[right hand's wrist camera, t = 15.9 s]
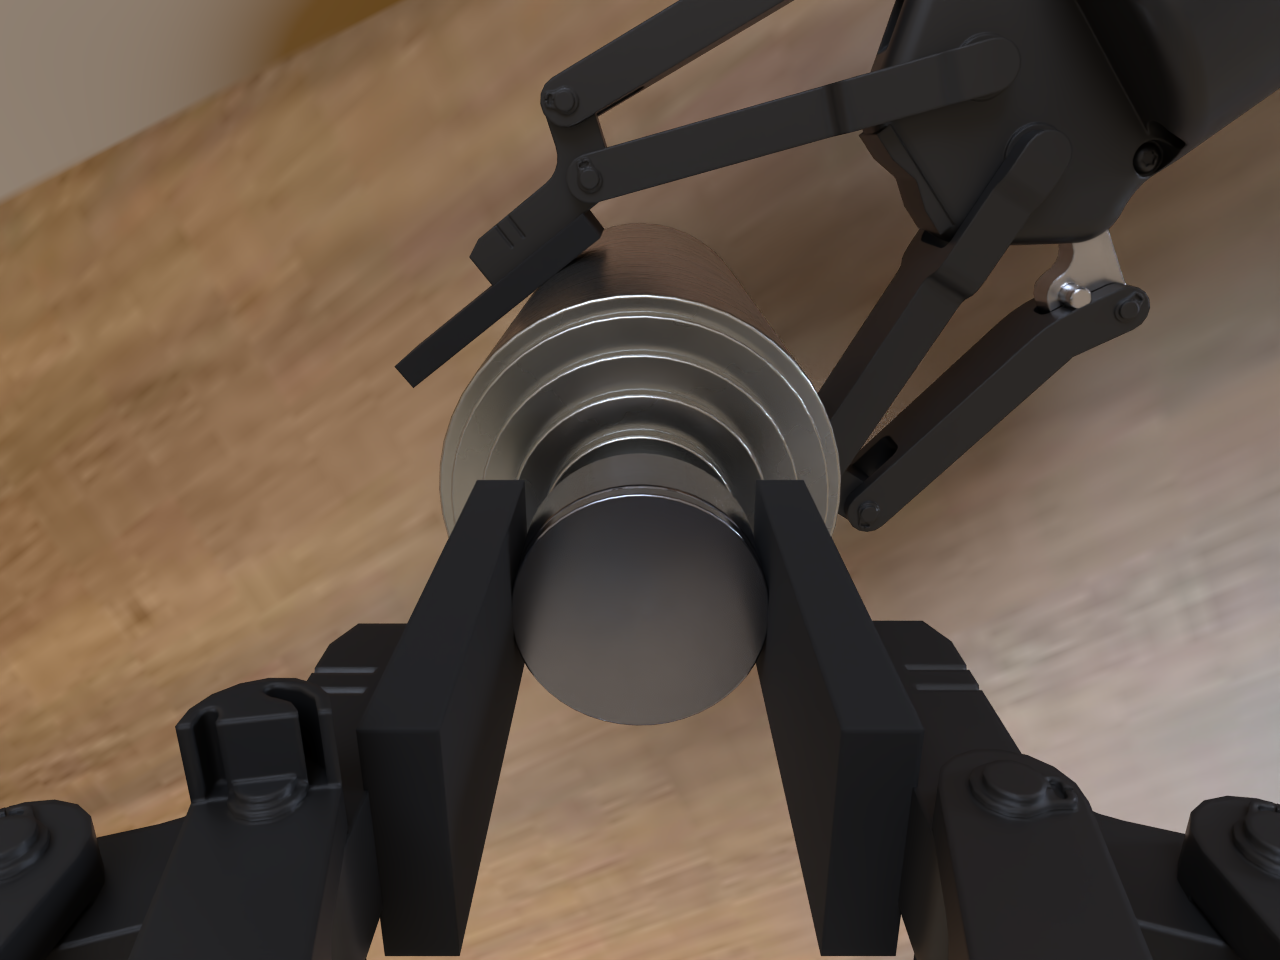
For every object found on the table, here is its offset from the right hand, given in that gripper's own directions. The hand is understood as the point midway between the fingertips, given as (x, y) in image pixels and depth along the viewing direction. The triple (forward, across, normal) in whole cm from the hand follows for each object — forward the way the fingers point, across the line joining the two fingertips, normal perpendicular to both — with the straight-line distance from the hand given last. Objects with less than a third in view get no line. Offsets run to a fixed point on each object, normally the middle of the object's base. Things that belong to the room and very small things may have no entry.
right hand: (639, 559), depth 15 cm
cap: (-2, 0, 0) cm, 2 cm away
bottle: (+18, 0, 0) cm, 18 cm away
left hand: (+12, -4, -3) cm, 13 cm away
